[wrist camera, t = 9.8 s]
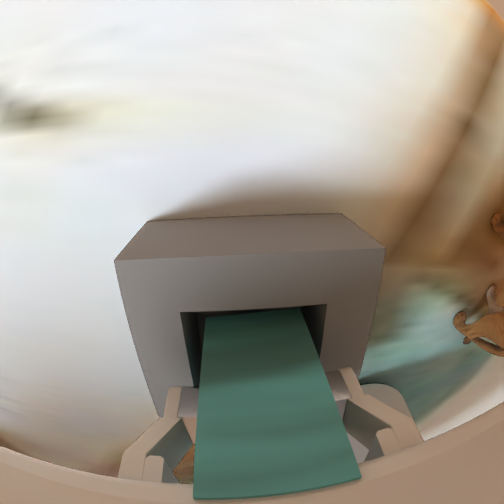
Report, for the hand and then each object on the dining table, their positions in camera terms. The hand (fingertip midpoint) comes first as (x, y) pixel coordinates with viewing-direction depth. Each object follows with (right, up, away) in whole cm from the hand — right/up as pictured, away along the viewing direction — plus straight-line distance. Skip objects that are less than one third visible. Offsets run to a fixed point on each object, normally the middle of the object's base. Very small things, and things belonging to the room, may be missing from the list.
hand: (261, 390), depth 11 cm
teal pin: (0, +1, +2) cm, 3 cm away
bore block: (-1, +2, +6) cm, 7 cm away
